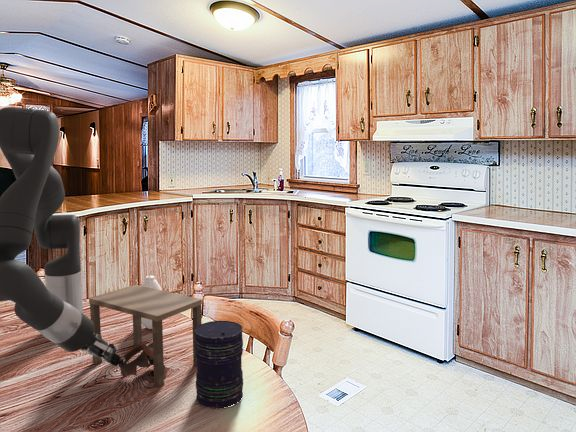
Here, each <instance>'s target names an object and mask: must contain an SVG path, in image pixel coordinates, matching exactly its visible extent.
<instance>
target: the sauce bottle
mask: <svg viewBox="0 0 576 432" xmlns="http://www.w3.org/2000/svg"><path fill="white" fill-rule="evenodd" d="M151 272H152V271H151V267H148V275H146V276H145V278H144V280H143V282H142V284H141V285H140V286H144V287H149V288H153V289H158V290H162V291H163V289H162V287H161V285H160V283H159V282H158V281H157V279H156V277H155V276H154V275H152V274H151ZM141 326H144V327H145V328H146V329H148V330H152V320H150V319H146V318H142V317H141Z"/></svg>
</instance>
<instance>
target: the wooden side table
mask: <svg viewBox="0 0 576 432" xmlns="http://www.w3.org/2000/svg"><path fill="white" fill-rule="evenodd" d="M88 303H89V309H90V310H89V311H90V313H89V314H90V315H89V316H90V319H91V320H92V321H93V323H94V333H96V334H98V335H100V336H101V337H102V335H101V334H102V333H101V332H102V331H101V330H102V329H101V309H100V308H101V307H103V308H104V309H105V308H106V309H110V310H113V311H117V312H121V313H123V314H127V315H132V331H133V332H132V334H133V335H132V336H133V337H132V338H133V346H134V347H136V346H138V345H141V344H143V330H142V329H143V328H142V326H143V325H142V324H141V317H142V318H146V319H150V320H152V329H151V330H152V332H151V333H152V342H153V364H154V365H153V385H154V387H156V388H161V387H163V386H164V385H165V378H164V365H165V364H164V336H163V334H164V333H163V331H164V330H163V320H165V319H166V320H167V319H168V318H170V317H173V316H175V315H178V314H182V313H183V312H186V311H188V310H192V311H191V312H192V313H191V314H192V360H193V362H192V363H193V365H194V366H196V367H197V358H196V354H195V351H196V349H195V336H196V335H195V329H196V328H197V327H198V326H199V325H201V324H203V323H202V321H203V320H202V318H203V317H202V305H203V298H202V299H201V298H196V297H194V296H193V297H192V296H189V295H185V294H179V293H177V292H176V293H175V292H171V291H167V290H166V291H165V290H163V289H162V290H158V289H153V288H149V287H144V286H141V285H138V284H133V285H129V286H125V287H122V288H119V289H116V290H112V291H110V292H105V293H103V294H102V293H101V294H99V295H96V296H93V297H92V296H91V297H89V298H88ZM102 363H103V359H101V358H98V357H96V356H93V355H92V364H94V365H99V364H102Z"/></svg>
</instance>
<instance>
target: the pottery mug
mask: <svg viewBox="0 0 576 432" xmlns="http://www.w3.org/2000/svg"><path fill="white" fill-rule="evenodd" d="M139 353H140V354H139ZM137 354H139V355H138V356H137V357H135V358H134V359H133V360H132V361H130V360H131V359H132V358H133V357H134V356H136V355H137ZM123 358H124V360H123V359H122V358H121V361H120V362H119V364H118V367H119V368H120V375H121V376H122V377H128V376H131V375H133V376H135V377H137V376H138V374H137V370H138V367H140V368H149V367H151V366H154V364H153V341H152V342H150V343H148V344H146V343H142V344H141V345H138V346H134V347H133V348H131V349H130V350H129V351H128V352H126V353H125V354H124V355H123ZM167 373H168V371H167V368H166V365H165V364H164V379H165V378H166V376H167Z"/></svg>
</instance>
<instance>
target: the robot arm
mask: <svg viewBox="0 0 576 432" xmlns="http://www.w3.org/2000/svg"><path fill="white" fill-rule="evenodd" d="M59 138H60V123H59V120H58V117H57V116H56V114H55V113H54V112H52V111H50V110H45V109H44V110H43V109H35V108H25V107H16V106H15V107H14V106H9V107H2V108H0V150H1V152H2V154H3V156H4V157H5V160H6V161H7V163H8V165H9V166H10V168H11V170H12V172H13V175H14V178H15V179H16V180H15V181H14V182H13V183H12V184H11V185H10V186H9V187H7V189H6V190H5V191H3V192H2V194H1V196H0V303H1V302H7V301H11V302H13V303H15V304H14V314H15V315H16V317H17V318H18V319H20V320H21V321H22V322H23V323H25V324H26V325H28V326H29V327H32V329H34V330H36V331H37V332H38V333H39V334H40V335H41V336H43V337H44V338H46V339H47V340H49V341H51V342H52V343H54V344H55V345H57V346H58V347H59V348H61V349H63V350H64V351H66V352H69V353H74V352H77V351H82V352H84V353H86V354H88V355H91V356H92V357H93V356H96V357H98V358H101V359H102V361H105V362H107V363H108V364H109V365H111V366H113V367H117V366H119V362H120V361H121V360H122V356H120V355H118V353H116V352H117V348H116V345H115V344H114V343H109V342H107V341H105V340H104V339H103V338H102V335H101V336H100V335H98V334H96V333H94V323H93V321H92V320H91V318H90V317H88V316H87V315H86V314H84V303H83V300H84V298H83V282H82V267H81V265H82V263H81V226H80V220H79V218H78V217H77V215H75V214H55V213H57V211H58V210H59V209H60V208H61V206H62V205H63V203H64V202H65V198H66V192H65V188H64V187H65V186H64V184H63V183H64V182H63V179H62V176H61V175H60V173H59V172H58V170H57V169H55V168H54V167H53V166H52V165H53V161H54V158H55V155H56V152H57V149H58V144H59ZM33 231H34V234H35V238H36V241H37V243H38V246H40V247H41V248H42V249H45V250H53V249H54V250H56V249H57V250H58V249H59V250H60V249H67V250H66V253H64V254H63V255H61V256H60V257H57V258H54V259H51V260H49V261H47V262H46V263H45V264H44V269H43V270H44V272H43V273H44V282H43V280H42V279H41V278H40V277H39V275H38V274H37V273H36V271H35V270H34V269H33V268H32V267H31V266H29V265H28V264H27V263H25V262H23V261H20V260H18V259H17V260H16V257H18V256H19V255H20V254H22V253H23V252H25V251H27V250H28V249H29V248H30V245H31V242H32V236H33Z"/></svg>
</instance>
